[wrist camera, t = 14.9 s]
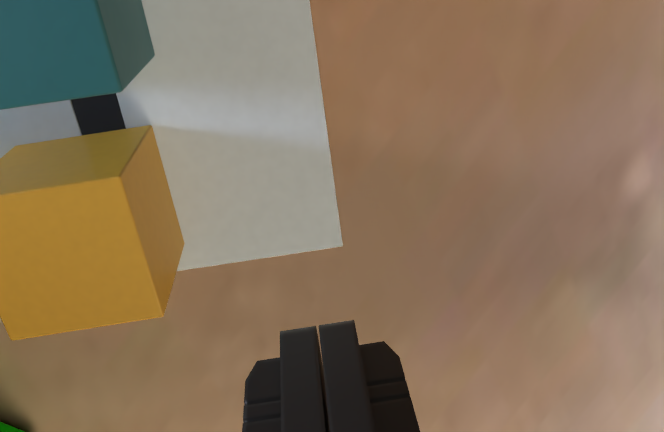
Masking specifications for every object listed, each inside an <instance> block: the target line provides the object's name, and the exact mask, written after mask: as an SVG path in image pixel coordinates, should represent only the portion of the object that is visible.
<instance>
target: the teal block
mask: <svg viewBox="0 0 664 432" xmlns="http://www.w3.org/2000/svg"><path fill="white" fill-rule="evenodd" d="M154 56H155V53H154V49H153V45H152V41H151V37H150V33H149V29H148V25H147V21H146V17H145V13H144V9H143V5H142V1H141V0H0V110H3V109H10V108H17V107H24V106H31V105H38V104H44V103H51V102H58V101H65V100H72V99H79V98H86V97H93V96H99V95H106V94H113V93H120V92H122V91H123V90H124V89H125V88H126V87H127V86H128V85H129V83H130V82H131V81H132V80H133V79H134V78H135V77H136V76H137V75H138V74H139V73H140V71H141V70H142V69H143V68H144V67H145V66H146V65H147V64H148V63H149V62H150V61H151V59H152V58H153V57H154Z"/></svg>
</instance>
